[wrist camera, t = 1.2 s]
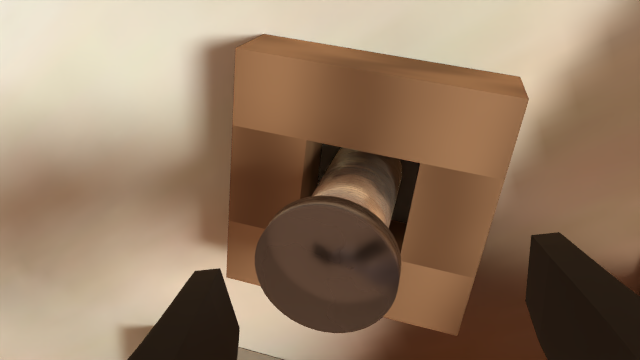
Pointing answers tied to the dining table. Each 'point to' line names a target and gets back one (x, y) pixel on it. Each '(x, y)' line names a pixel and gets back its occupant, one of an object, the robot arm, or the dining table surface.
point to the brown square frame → (378, 138)
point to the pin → (336, 247)
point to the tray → (253, 355)
